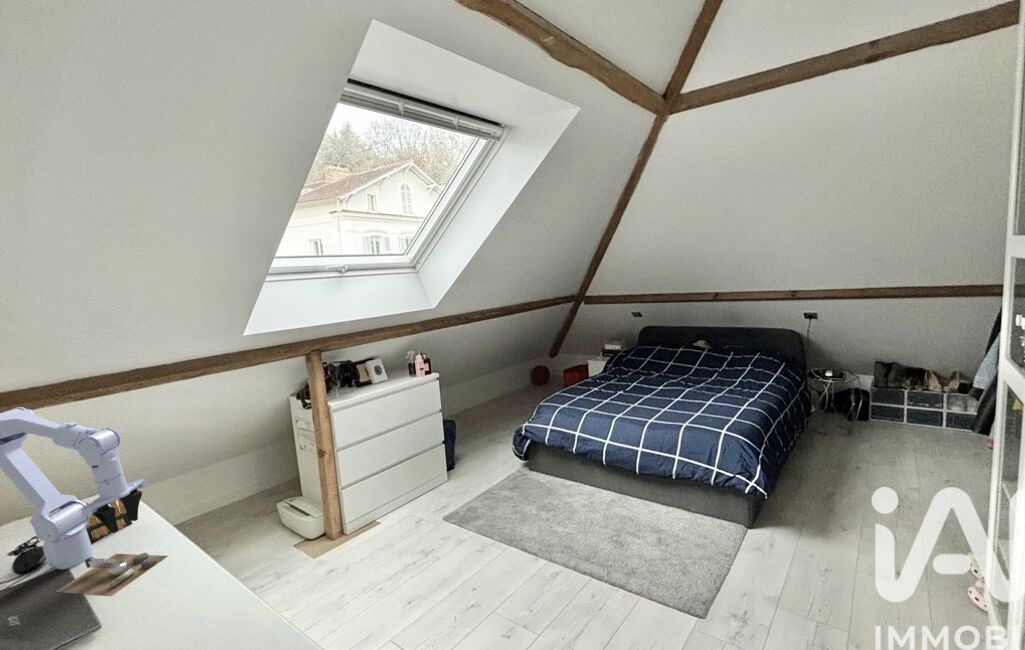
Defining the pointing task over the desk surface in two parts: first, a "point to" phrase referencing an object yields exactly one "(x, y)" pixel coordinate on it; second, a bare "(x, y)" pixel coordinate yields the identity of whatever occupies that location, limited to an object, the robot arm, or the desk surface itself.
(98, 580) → the brown flat board
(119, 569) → the door lever handle
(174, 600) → the desk surface
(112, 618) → the desk surface
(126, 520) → the ammunition clip
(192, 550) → the desk surface
